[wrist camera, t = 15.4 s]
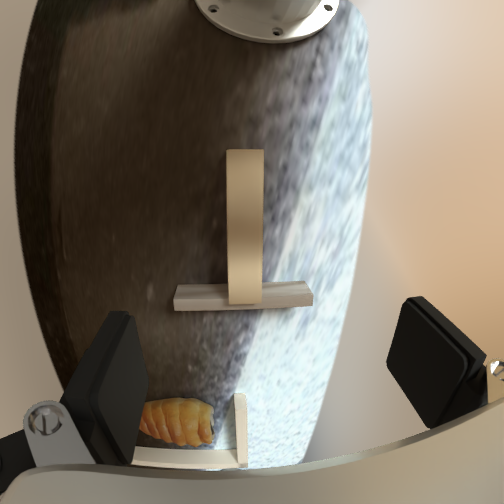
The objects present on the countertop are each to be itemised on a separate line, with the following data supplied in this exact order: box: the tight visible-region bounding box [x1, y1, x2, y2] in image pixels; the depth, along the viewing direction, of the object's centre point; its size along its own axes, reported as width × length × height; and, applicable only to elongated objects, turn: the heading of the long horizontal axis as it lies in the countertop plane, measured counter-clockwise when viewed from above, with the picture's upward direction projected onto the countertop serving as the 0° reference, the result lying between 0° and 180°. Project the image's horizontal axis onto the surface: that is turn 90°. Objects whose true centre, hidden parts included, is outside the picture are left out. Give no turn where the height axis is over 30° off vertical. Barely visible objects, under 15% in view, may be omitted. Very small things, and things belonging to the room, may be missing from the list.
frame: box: [131, 393, 248, 469], centre depth 30 cm, size 12×16×2 cm
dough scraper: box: [173, 149, 313, 311], centre depth 23 cm, size 12×11×4 cm
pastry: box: [139, 397, 215, 447], centre depth 28 cm, size 9×7×4 cm
